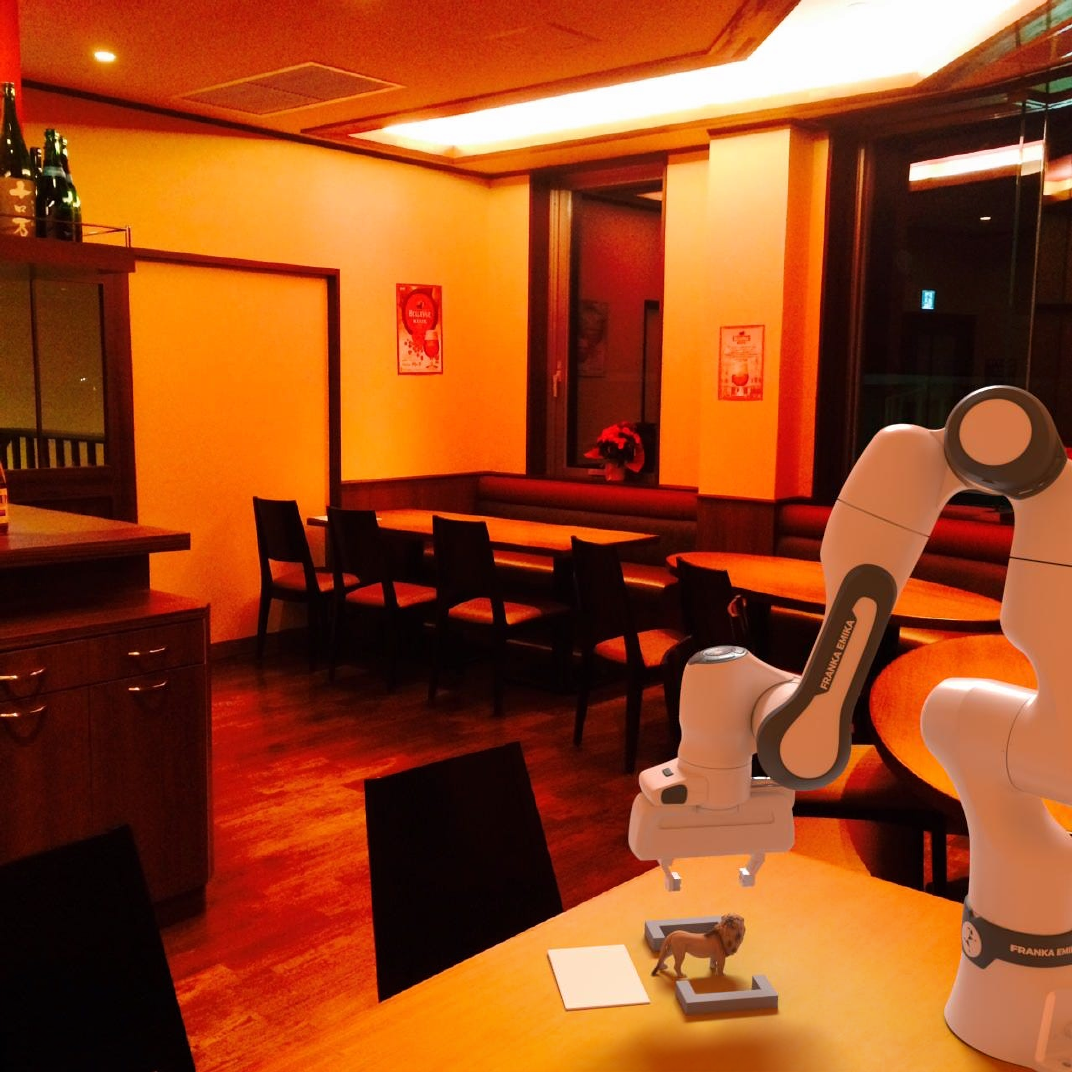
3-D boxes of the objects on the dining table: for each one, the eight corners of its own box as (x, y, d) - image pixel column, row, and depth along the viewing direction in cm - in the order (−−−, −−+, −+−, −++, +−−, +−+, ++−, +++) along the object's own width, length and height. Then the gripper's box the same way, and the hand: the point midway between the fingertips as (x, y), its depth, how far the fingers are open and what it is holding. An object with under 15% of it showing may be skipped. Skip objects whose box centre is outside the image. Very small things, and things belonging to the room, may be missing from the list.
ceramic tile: (624, 948, 138) (624, 944, 138) (649, 1006, 125) (650, 1001, 125) (547, 954, 136) (547, 949, 136) (565, 1013, 124) (566, 1008, 124)
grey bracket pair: (724, 929, 143) (724, 915, 143) (777, 1011, 124) (778, 995, 124) (644, 935, 141) (644, 920, 141) (686, 1019, 123) (686, 1002, 122)
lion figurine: (736, 959, 136) (738, 905, 135) (749, 977, 132) (752, 922, 131) (646, 968, 133) (647, 913, 132) (656, 987, 129) (658, 930, 128)
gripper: (785, 766, 134) (780, 870, 136) (626, 773, 131) (624, 880, 133) (805, 785, 128) (800, 893, 130) (639, 793, 125) (636, 904, 127)
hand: (709, 887), depth 131 cm, fingers open, 8 cm apart
